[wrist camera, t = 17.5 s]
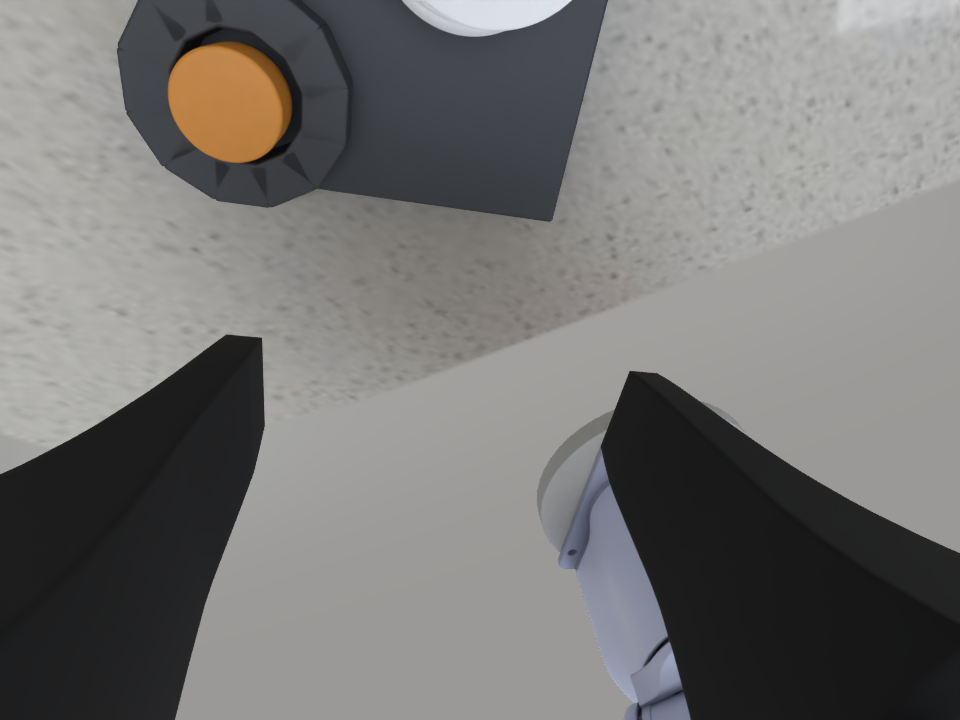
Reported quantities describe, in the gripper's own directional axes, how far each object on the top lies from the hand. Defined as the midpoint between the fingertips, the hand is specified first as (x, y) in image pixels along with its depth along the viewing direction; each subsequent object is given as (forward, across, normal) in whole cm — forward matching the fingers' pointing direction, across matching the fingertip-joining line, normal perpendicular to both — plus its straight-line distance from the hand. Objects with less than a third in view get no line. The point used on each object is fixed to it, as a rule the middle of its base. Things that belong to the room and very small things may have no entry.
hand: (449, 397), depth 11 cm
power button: (+8, +6, -4) cm, 10 cm away
